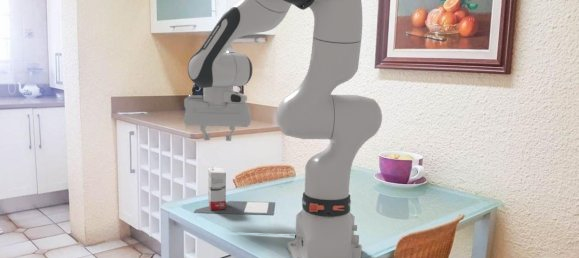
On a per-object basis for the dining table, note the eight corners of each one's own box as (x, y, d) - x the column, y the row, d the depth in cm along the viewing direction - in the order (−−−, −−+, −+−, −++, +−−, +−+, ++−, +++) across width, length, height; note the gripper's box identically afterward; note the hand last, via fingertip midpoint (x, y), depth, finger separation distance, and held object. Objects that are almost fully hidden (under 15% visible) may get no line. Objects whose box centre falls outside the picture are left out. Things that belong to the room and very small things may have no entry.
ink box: (226, 209, 142) (226, 172, 141) (210, 210, 141) (210, 172, 139) (223, 201, 150) (223, 166, 149) (207, 202, 149) (208, 166, 148)
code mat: (273, 215, 139) (273, 214, 139) (193, 212, 139) (193, 212, 139) (274, 202, 152) (274, 202, 152) (202, 200, 152) (202, 200, 152)
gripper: (181, 95, 138) (181, 141, 140) (249, 97, 138) (249, 142, 140) (186, 94, 144) (186, 138, 146) (251, 96, 144) (251, 139, 146)
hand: (217, 140), depth 143 cm, fingers open, 5 cm apart
